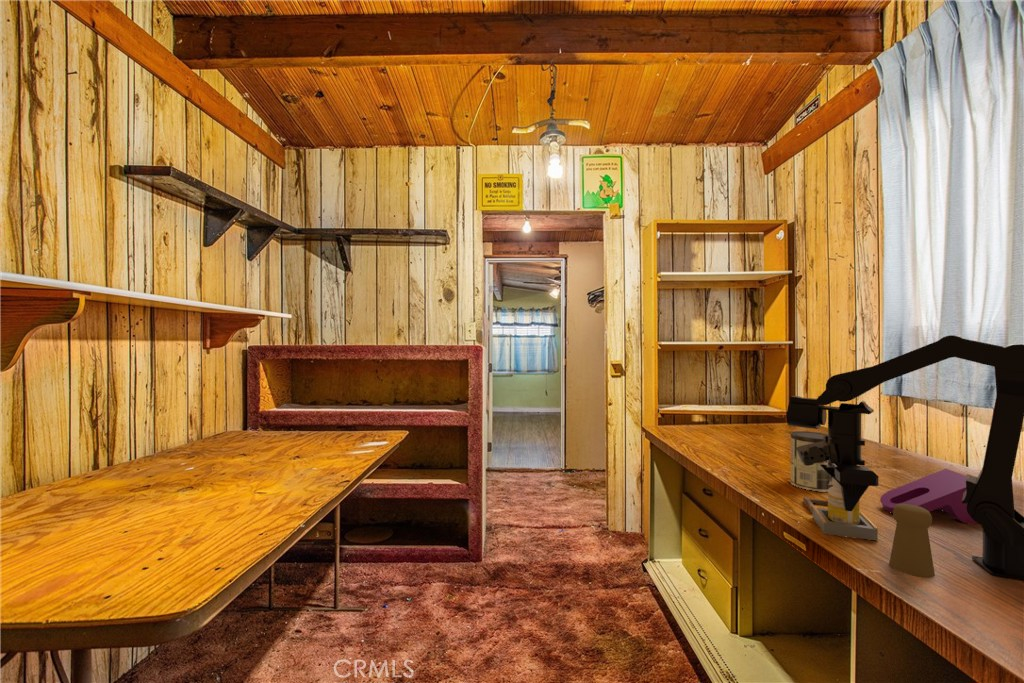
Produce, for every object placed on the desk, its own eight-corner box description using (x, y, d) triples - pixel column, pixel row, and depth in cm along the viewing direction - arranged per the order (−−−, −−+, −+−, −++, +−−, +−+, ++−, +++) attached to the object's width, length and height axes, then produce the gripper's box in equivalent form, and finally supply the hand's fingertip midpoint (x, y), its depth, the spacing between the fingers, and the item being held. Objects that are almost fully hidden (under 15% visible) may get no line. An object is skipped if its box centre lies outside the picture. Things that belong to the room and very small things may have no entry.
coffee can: (830, 483, 125) (831, 432, 125) (839, 494, 116) (839, 440, 116) (787, 478, 130) (788, 429, 130) (792, 489, 121) (792, 436, 120)
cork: (912, 559, 82) (912, 499, 82) (945, 577, 76) (945, 512, 76) (880, 560, 82) (880, 500, 82) (910, 577, 76) (911, 513, 76)
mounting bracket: (916, 547, 100) (1000, 516, 98) (899, 513, 100) (981, 481, 98) (887, 529, 109) (962, 500, 107) (871, 497, 110) (945, 468, 107)
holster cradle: (854, 518, 101) (854, 511, 101) (811, 513, 104) (811, 506, 104) (843, 506, 108) (843, 500, 108) (803, 501, 111) (803, 495, 111)
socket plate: (877, 541, 90) (877, 527, 90) (824, 534, 93) (824, 521, 93) (861, 523, 98) (861, 511, 98) (812, 517, 101) (812, 505, 101)
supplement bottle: (852, 521, 97) (852, 476, 97) (864, 532, 92) (865, 484, 92) (823, 518, 99) (824, 474, 98) (833, 529, 93) (834, 482, 93)
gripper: (790, 422, 107) (790, 487, 107) (811, 438, 89) (810, 516, 89) (847, 425, 103) (846, 493, 103) (879, 443, 85) (879, 525, 85)
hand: (843, 505), depth 95 cm, fingers closed on supplement bottle, 5 cm apart
